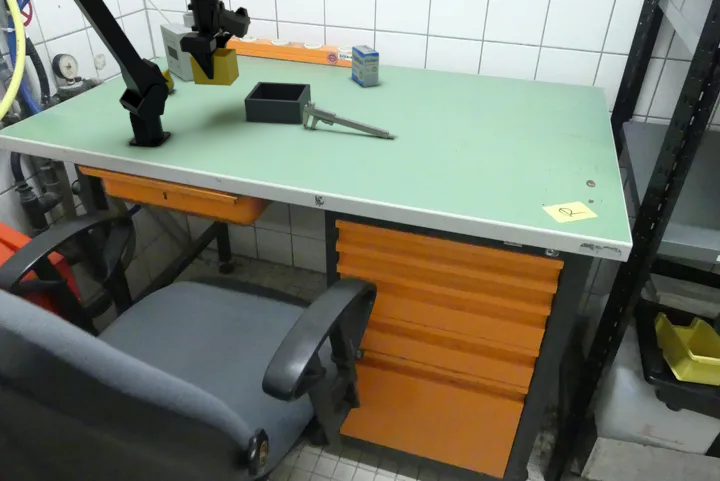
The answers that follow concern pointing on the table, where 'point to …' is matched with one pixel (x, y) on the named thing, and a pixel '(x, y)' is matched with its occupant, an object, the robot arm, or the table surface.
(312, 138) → the table surface
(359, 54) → the medicine box
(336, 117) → the caliper
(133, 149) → the table surface
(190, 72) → the grey machine part
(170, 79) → the yellow ridged cone
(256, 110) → the big bin
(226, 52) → the small bin
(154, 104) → the robot arm
